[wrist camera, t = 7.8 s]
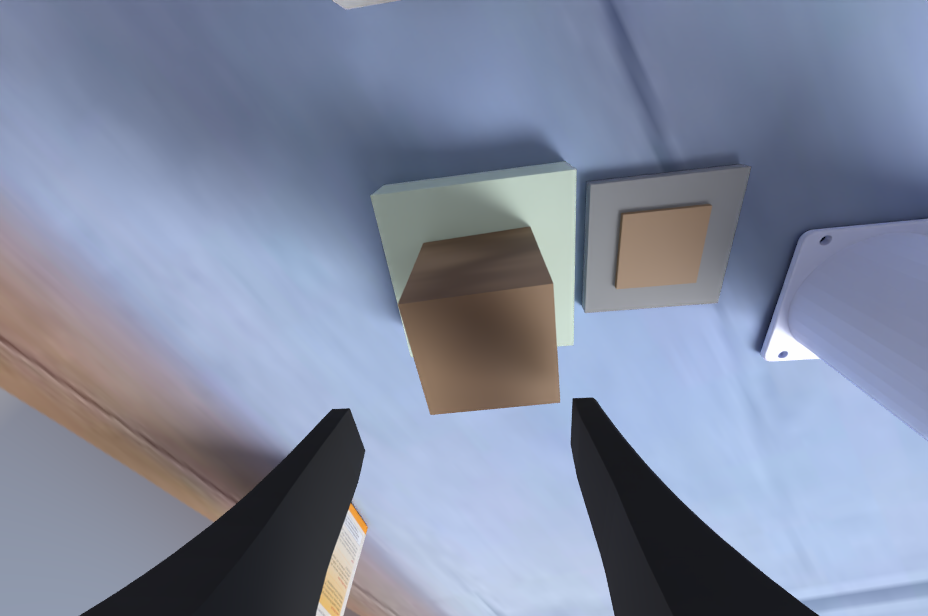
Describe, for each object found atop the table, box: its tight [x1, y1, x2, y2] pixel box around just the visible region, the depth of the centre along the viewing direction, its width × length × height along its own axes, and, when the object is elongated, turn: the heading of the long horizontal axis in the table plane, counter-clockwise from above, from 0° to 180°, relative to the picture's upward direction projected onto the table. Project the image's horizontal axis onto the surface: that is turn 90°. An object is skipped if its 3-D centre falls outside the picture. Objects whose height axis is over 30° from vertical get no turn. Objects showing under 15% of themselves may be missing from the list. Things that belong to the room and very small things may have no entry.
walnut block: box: [398, 226, 560, 415], centre depth 15 cm, size 5×5×6 cm
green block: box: [370, 161, 576, 357], centre depth 19 cm, size 9×9×3 cm
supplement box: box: [316, 504, 368, 616], centre depth 27 cm, size 8×5×13 cm, turn 14°
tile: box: [582, 164, 751, 313], centre depth 18 cm, size 7×7×1 cm
